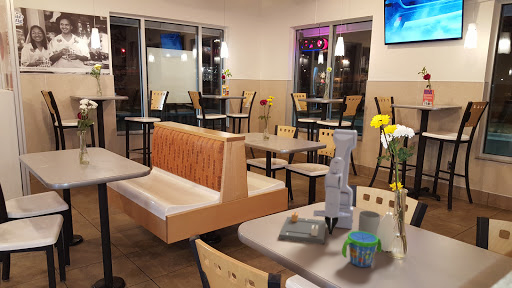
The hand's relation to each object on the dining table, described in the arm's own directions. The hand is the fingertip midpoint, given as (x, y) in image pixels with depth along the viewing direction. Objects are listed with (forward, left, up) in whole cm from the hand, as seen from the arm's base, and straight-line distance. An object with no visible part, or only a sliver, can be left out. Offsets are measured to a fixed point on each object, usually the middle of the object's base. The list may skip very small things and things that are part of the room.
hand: (330, 234), depth 147 cm
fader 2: (+7, 0, -1) cm, 7 cm away
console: (+11, -7, -3) cm, 14 cm away
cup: (-16, -9, -3) cm, 18 cm away
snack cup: (-12, +16, -3) cm, 20 cm away
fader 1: (+16, -13, -1) cm, 21 cm away
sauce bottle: (-22, +3, -3) cm, 22 cm away
